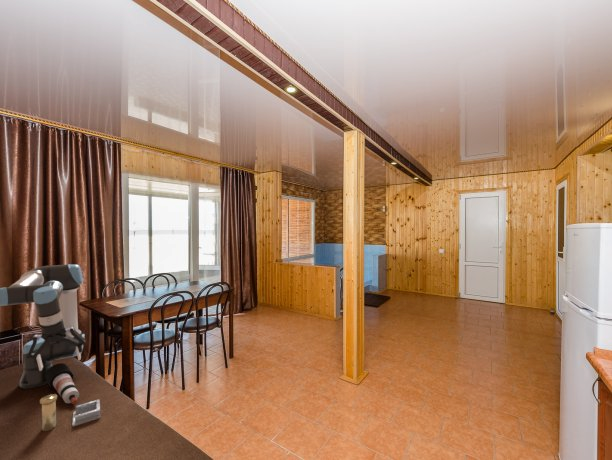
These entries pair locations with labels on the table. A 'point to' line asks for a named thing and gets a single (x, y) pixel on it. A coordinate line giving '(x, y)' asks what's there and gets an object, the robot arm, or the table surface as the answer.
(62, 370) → the cable
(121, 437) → the table surface
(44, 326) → the robot arm
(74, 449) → the table surface
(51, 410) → the end pin
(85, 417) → the keeper bracket
